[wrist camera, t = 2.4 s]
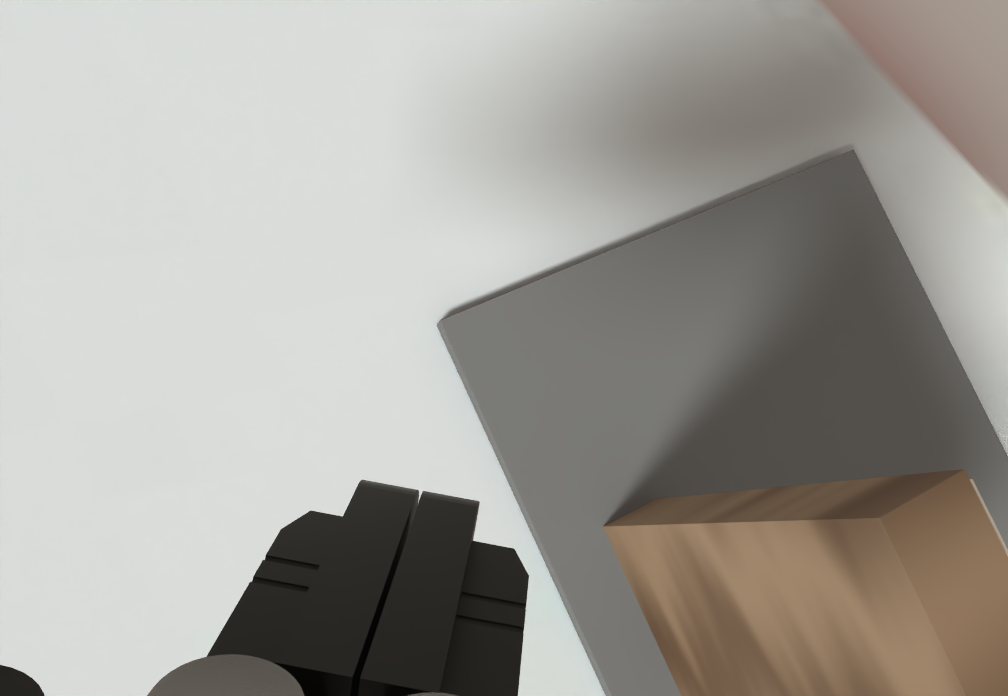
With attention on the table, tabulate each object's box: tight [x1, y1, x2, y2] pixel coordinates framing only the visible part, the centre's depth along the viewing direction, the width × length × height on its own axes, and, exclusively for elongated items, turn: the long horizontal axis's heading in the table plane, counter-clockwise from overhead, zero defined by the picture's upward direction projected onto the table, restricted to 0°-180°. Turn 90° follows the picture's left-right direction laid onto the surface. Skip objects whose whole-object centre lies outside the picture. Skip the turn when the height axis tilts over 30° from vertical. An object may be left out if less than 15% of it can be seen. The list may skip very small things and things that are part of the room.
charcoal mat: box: [437, 150, 1008, 696], centre depth 29 cm, size 24×16×1 cm, turn 26°
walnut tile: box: [603, 469, 1008, 696], centre depth 21 cm, size 9×2×13 cm, turn 26°
